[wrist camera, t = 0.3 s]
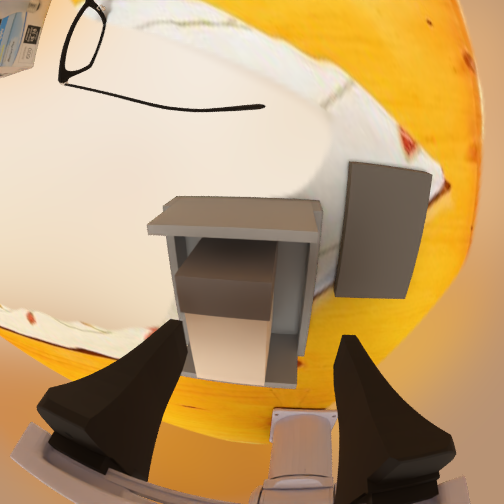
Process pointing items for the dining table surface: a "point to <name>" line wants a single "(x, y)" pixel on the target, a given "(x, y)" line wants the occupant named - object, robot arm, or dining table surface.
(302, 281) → the grey open tray
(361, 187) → the rubber mat
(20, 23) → the light bulb box
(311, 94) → the dining table surface
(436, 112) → the dining table surface
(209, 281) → the box
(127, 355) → the robot arm
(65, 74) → the eyeglasses
